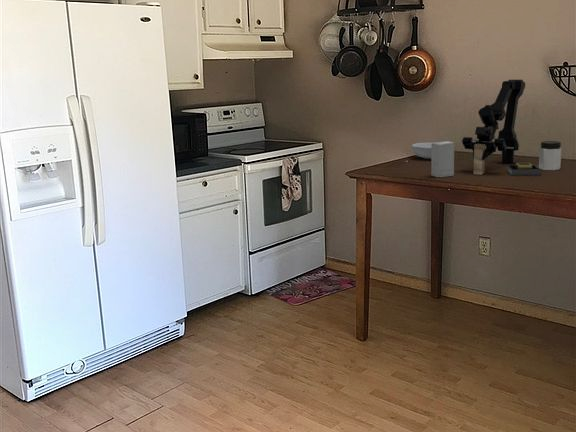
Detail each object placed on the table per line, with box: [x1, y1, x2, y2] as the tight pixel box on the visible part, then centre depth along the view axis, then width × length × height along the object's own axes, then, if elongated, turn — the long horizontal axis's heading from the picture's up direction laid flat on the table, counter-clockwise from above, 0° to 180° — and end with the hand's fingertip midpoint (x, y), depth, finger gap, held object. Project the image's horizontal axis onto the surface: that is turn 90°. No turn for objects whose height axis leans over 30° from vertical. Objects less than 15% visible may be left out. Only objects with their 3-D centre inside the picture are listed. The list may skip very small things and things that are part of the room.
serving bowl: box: [411, 142, 433, 160], centre depth 327 cm, size 21×21×7 cm
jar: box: [538, 140, 562, 171], centre depth 285 cm, size 9×8×12 cm
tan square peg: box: [473, 144, 486, 175], centre depth 280 cm, size 4×4×13 cm
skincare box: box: [430, 140, 455, 178], centre depth 278 cm, size 8×6×15 cm
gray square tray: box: [506, 162, 542, 177], centre depth 279 cm, size 12×12×4 cm
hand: (478, 159), depth 279 cm, fingers closed on tan square peg, 3 cm apart
